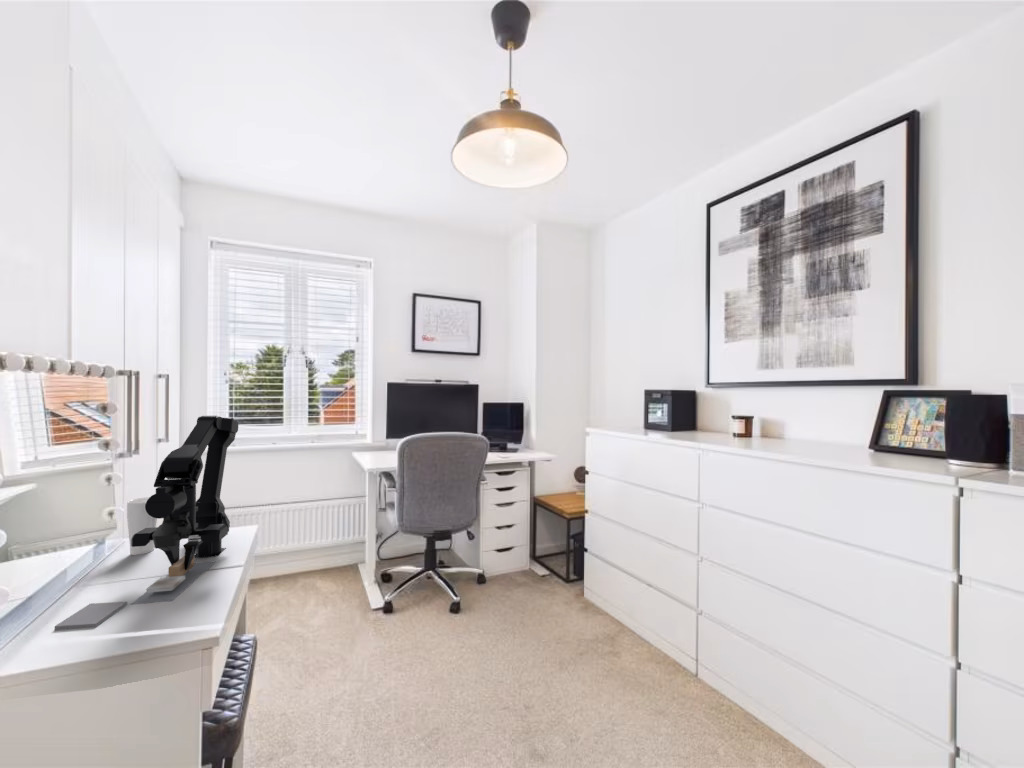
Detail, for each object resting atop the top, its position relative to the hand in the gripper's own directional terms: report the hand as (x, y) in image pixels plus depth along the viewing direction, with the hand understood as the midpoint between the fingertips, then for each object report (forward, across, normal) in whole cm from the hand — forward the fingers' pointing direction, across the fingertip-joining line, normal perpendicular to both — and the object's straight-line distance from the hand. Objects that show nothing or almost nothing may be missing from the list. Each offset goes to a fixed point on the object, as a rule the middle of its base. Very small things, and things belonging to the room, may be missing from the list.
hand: (181, 569), depth 110 cm
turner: (+1, 0, -2) cm, 2 cm away
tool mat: (+3, 0, -2) cm, 3 cm away
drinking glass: (+3, -20, +22) cm, 29 cm away
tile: (+2, -8, -12) cm, 15 cm away
